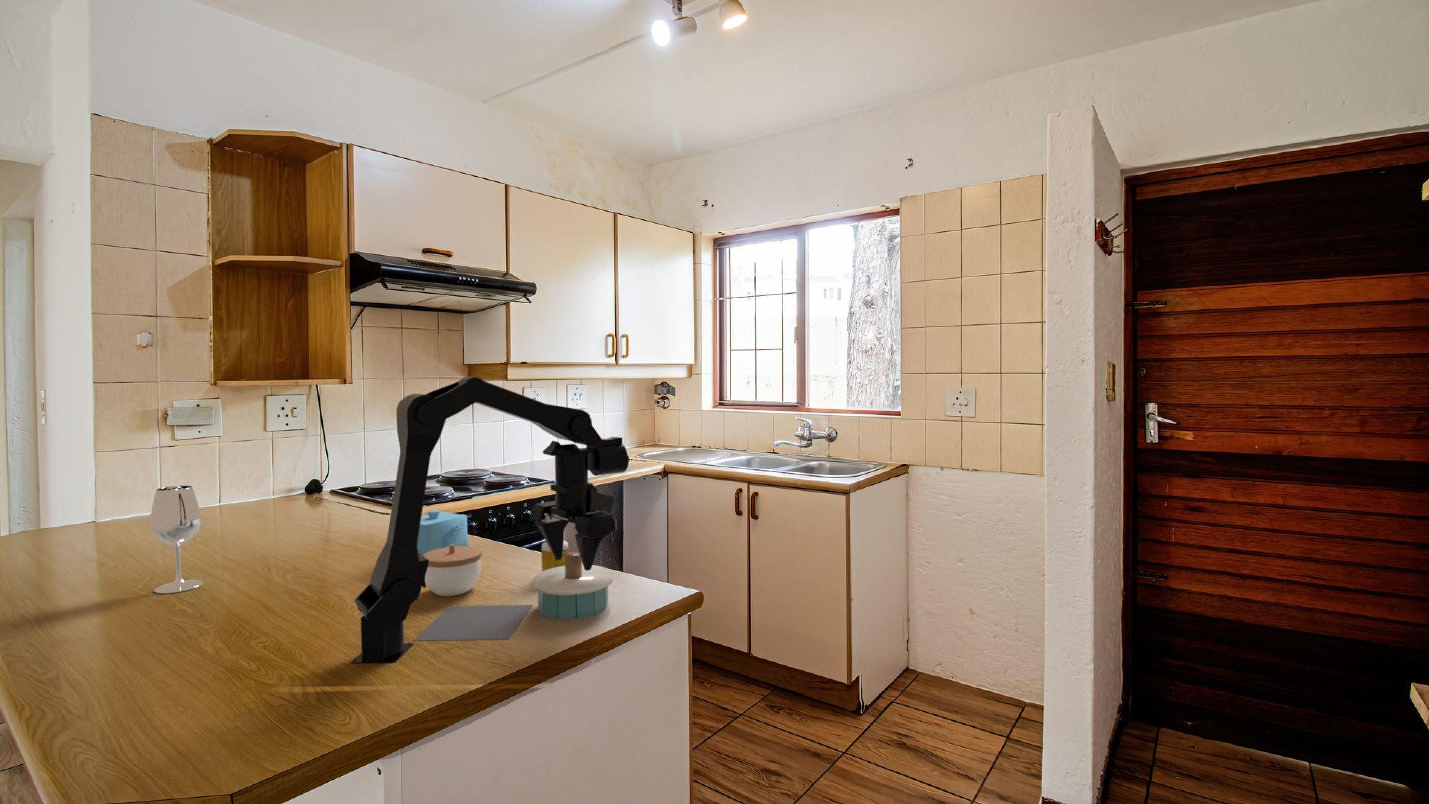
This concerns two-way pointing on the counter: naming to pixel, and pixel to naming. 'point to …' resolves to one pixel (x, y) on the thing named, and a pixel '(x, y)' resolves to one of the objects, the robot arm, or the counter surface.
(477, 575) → the lidded jar
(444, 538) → the teapot
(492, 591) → the counter surface
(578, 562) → the lid
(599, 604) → the bowl
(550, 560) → the supplement bottle
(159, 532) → the wineglass
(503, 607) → the mat
